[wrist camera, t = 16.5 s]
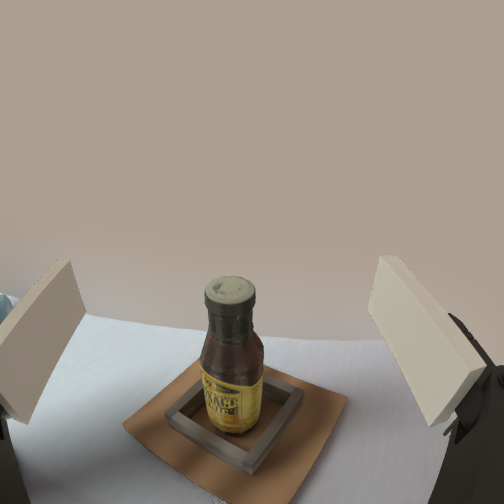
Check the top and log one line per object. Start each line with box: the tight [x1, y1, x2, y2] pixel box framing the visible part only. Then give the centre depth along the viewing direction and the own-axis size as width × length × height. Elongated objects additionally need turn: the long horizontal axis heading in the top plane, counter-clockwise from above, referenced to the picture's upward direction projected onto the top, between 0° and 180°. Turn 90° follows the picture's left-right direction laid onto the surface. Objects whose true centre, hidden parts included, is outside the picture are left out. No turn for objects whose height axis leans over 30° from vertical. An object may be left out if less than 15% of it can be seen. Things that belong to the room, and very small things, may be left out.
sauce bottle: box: [199, 276, 264, 436], centre depth 27 cm, size 6×6×20 cm
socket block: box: [122, 358, 348, 504], centre depth 31 cm, size 22×20×5 cm
